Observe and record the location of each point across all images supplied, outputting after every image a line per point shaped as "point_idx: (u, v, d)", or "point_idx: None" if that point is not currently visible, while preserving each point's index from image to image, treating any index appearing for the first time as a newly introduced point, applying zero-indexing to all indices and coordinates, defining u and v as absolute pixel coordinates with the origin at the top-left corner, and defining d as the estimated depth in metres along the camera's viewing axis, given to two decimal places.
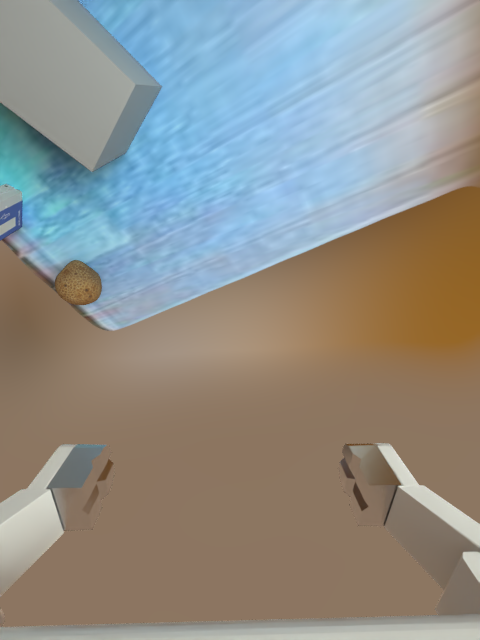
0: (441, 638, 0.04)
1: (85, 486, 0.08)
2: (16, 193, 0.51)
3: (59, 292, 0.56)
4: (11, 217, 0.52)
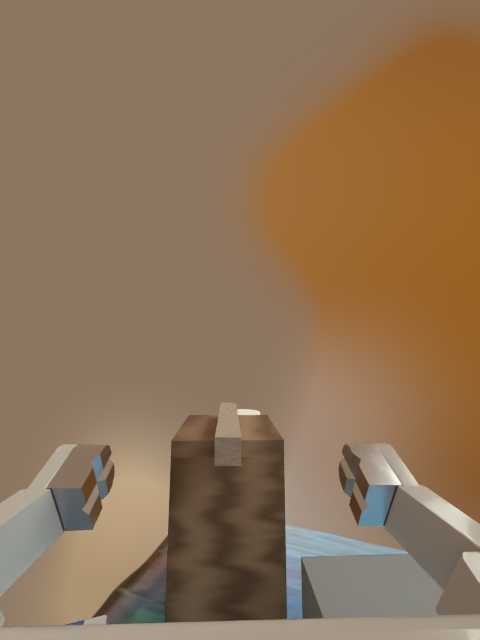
0: (441, 638, 0.04)
1: (85, 486, 0.08)
2: None
3: None
4: None
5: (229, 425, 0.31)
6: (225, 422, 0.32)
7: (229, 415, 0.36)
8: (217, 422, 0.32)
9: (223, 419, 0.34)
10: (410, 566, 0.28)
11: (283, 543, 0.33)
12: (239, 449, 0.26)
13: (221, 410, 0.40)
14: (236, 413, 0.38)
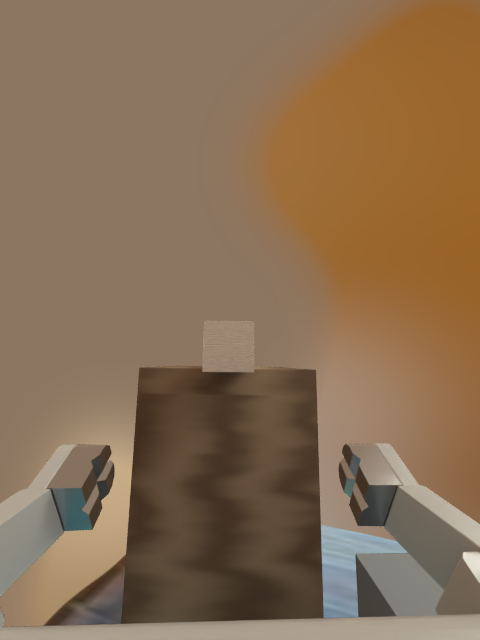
0: (439, 637, 0.04)
1: (85, 486, 0.08)
2: None
3: None
4: None
5: None
6: None
7: None
8: None
9: None
10: None
11: (317, 533, 0.20)
12: (250, 343, 0.14)
13: None
14: None
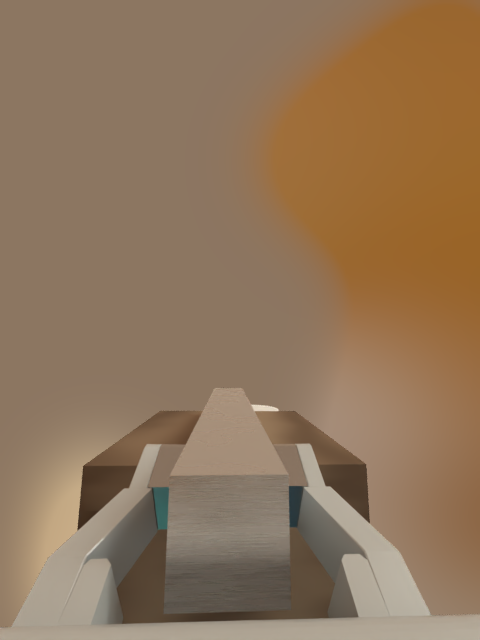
0: (440, 638, 0.04)
1: None
2: None
3: None
4: None
5: (232, 426, 0.10)
6: (221, 418, 0.12)
7: (231, 404, 0.16)
8: (199, 418, 0.12)
9: (216, 411, 0.13)
10: None
11: None
12: (280, 531, 0.06)
13: (214, 396, 0.19)
14: (246, 401, 0.17)
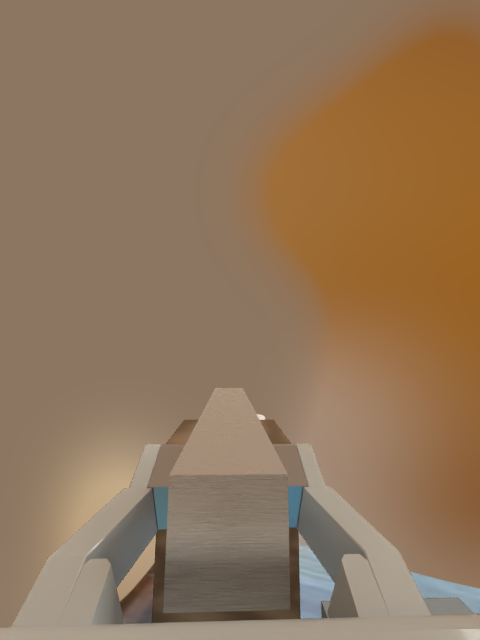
0: (441, 638, 0.04)
1: None
2: None
3: None
4: None
5: (232, 425, 0.11)
6: (221, 418, 0.12)
7: (231, 404, 0.16)
8: (200, 418, 0.12)
9: (217, 411, 0.14)
10: None
11: (297, 579, 0.26)
12: (280, 531, 0.06)
13: (215, 396, 0.19)
14: (247, 401, 0.17)
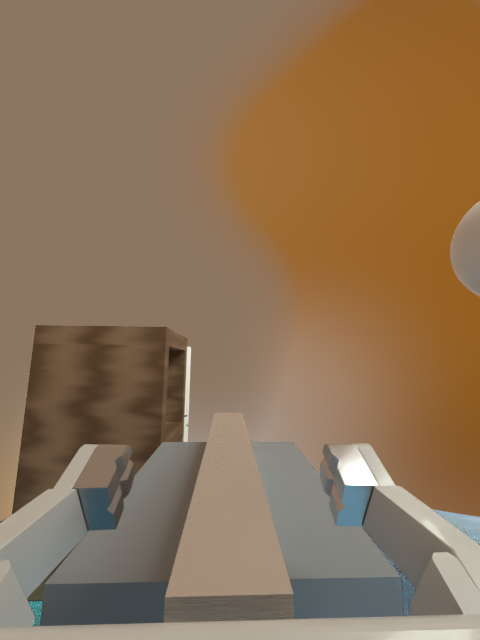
0: (440, 637, 0.04)
1: (110, 486, 0.08)
2: None
3: None
4: None
5: (233, 489, 0.10)
6: (221, 473, 0.11)
7: (231, 445, 0.15)
8: (198, 473, 0.11)
9: (216, 460, 0.13)
10: (285, 447, 0.23)
11: (158, 440, 0.28)
12: None
13: (214, 430, 0.19)
14: (247, 439, 0.17)
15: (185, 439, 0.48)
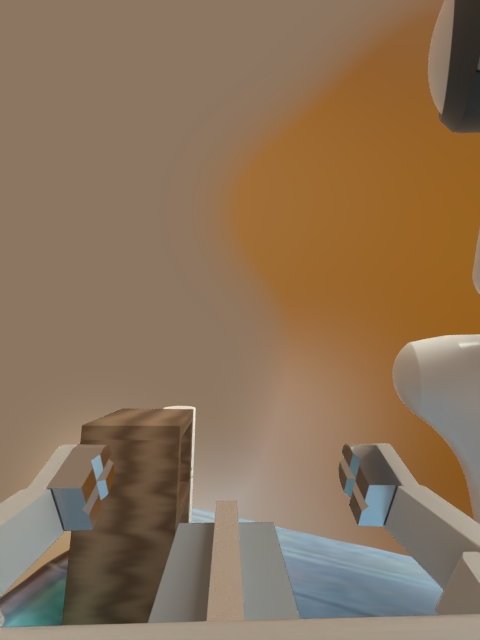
0: (441, 638, 0.04)
1: (85, 486, 0.08)
2: None
3: None
4: None
5: (227, 605, 0.20)
6: (221, 589, 0.21)
7: (227, 554, 0.25)
8: (209, 589, 0.21)
9: (218, 573, 0.23)
10: (266, 530, 0.33)
11: (174, 515, 0.38)
12: None
13: (216, 531, 0.28)
14: (237, 545, 0.26)
15: (190, 489, 0.58)
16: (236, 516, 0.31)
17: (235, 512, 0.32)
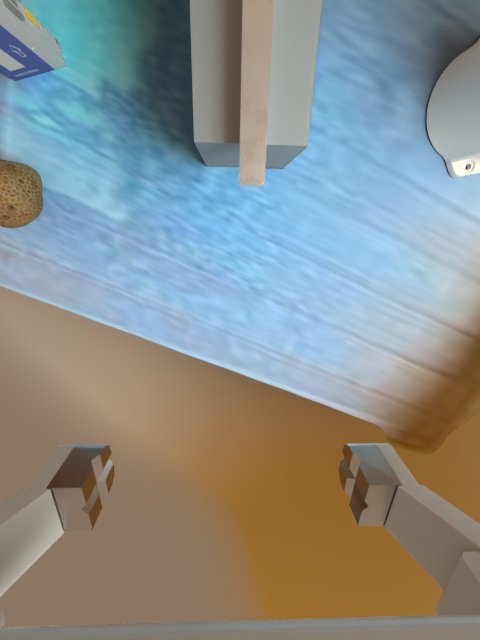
0: (440, 638, 0.04)
1: (85, 486, 0.08)
2: (59, 57, 0.36)
3: None
4: (20, 61, 0.34)
5: (255, 131, 0.26)
6: (250, 112, 0.25)
7: (258, 59, 0.24)
8: (240, 111, 0.25)
9: (248, 91, 0.25)
10: None
11: None
12: (261, 186, 0.29)
13: (246, 5, 0.23)
14: (269, 41, 0.24)
15: None
16: None
17: None
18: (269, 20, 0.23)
